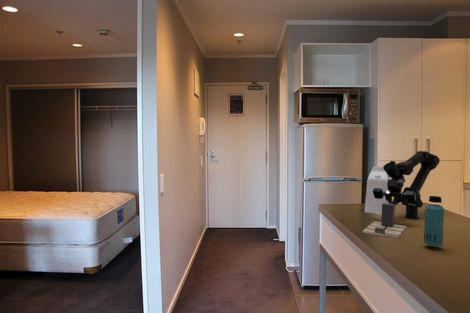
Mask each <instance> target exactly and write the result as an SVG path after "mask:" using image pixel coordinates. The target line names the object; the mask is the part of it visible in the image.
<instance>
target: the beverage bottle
mask: <svg viewBox="0 0 470 313" xmlns="http://www.w3.org/2000/svg"><path fill="white" fill-rule="evenodd" d="M428 202H430V203H429V204H427V205H426V206H425V209H424V210H425V212H424V227H423V228H424V229H423V232H424V233H423V242H424V244H425V245H427V246H431V247H437V248H438V247H439V248H440V247H443V245H444V222H445V221H444V218H445V208H444V207H443V206H442V205H441V203H442V197H441V196H439V195H429V197H428ZM433 203H434V204H433ZM435 203H436V204H435Z"/></svg>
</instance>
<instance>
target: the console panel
mask: <svg viewBox="0 0 470 313" xmlns="http://www.w3.org/2000/svg"><path fill="white" fill-rule="evenodd" d="M406 229H407V226H406V225H400V224H394V226H393V227H389V226H382V225H381V221H373V222H372V223H371V224H369V225H368V226H367V227H365V228H364V229H363V230H362V233H364V234H369V235H373V236H379V237H386V238H391V239H395V240H396V239H399V238H400V236H402V234H403V233H404V232H405V231H406Z"/></svg>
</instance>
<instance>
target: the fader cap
mask: <svg viewBox="0 0 470 313" xmlns="http://www.w3.org/2000/svg"><path fill="white" fill-rule="evenodd" d="M395 213H396V206H395V204H388V203H383V204H382V214H381V220H380V222H381V225H382V226H389V227H393V226H394V225H395V218H396V217H395V215H396V214H395Z"/></svg>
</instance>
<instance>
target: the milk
mask: <svg viewBox="0 0 470 313" xmlns="http://www.w3.org/2000/svg"><path fill="white" fill-rule="evenodd" d="M383 167H384V166H379V165H378V166H376V165H375V166H374V165H373V167H371V168H372V169H371V171H370V172H369V175H368V177H367V181H366V190H365V191H366V192H365V201H364V202H365V204H364V213H369V214H376V215H382V204H383V203H388V204H389V202H388V201H386V198H385V196H383V198H382V199H376V198H374V194H373V189H374V188H382V190H383V192H386V191H388V190H387V187H388V186H387V182H388V180H391V178H390V177H389V176H388V175H387V174H386V172H385V171H384V169H383Z"/></svg>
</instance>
